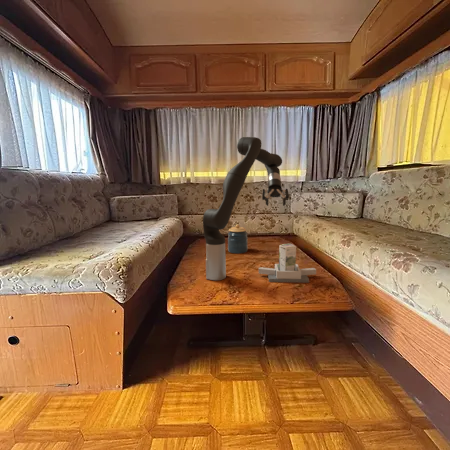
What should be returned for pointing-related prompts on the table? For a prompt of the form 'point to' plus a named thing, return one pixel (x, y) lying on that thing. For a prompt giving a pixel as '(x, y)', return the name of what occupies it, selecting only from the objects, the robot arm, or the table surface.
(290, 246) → the syrup box
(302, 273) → the base
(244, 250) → the canister
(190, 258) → the table surface
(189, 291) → the table surface
